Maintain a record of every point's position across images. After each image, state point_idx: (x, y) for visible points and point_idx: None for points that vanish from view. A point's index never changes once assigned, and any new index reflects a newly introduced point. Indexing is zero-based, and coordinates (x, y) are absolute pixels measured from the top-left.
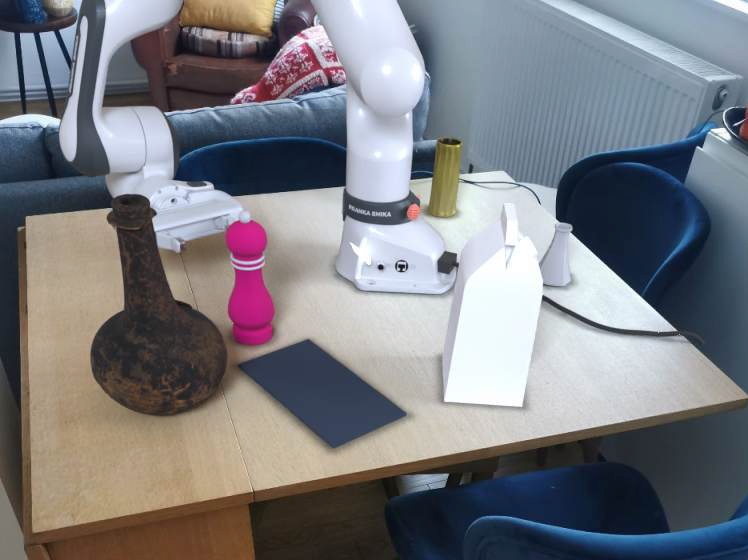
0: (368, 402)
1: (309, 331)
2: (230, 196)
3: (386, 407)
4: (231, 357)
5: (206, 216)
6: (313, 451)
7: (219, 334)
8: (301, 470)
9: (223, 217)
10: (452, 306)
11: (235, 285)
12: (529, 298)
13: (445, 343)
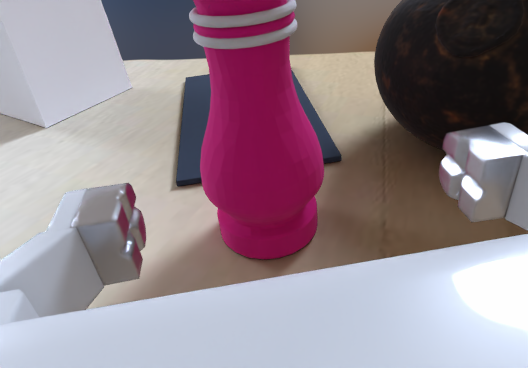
0: (209, 88)
1: (148, 210)
2: None
3: (197, 82)
4: (345, 182)
5: (166, 297)
6: (308, 67)
7: (388, 18)
8: (331, 58)
9: (1, 321)
10: (20, 28)
11: (295, 90)
12: None
13: (43, 95)
